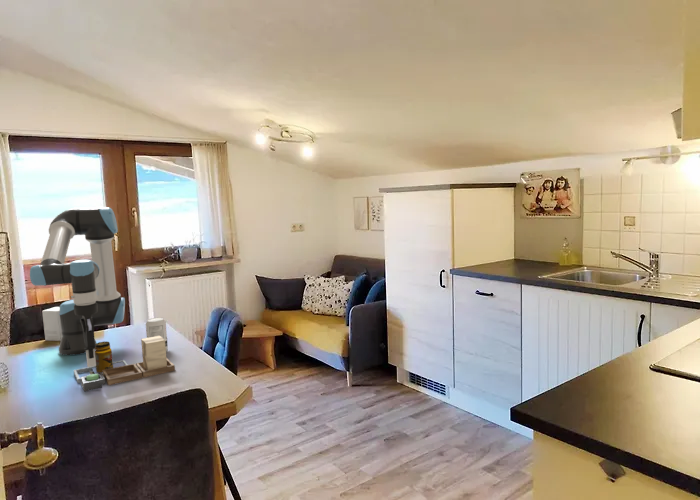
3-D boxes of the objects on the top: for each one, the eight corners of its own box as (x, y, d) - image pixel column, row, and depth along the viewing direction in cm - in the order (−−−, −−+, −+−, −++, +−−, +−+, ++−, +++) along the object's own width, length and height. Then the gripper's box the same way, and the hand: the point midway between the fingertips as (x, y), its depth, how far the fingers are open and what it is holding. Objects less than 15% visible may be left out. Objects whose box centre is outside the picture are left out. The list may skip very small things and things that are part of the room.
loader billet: (143, 368, 199) (141, 338, 198) (161, 364, 203) (159, 335, 202) (148, 374, 193) (146, 343, 191) (167, 370, 197) (165, 340, 195)
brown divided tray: (102, 378, 193) (101, 370, 193) (166, 364, 207) (166, 356, 206) (108, 388, 183) (107, 380, 182) (175, 373, 196) (175, 365, 196)
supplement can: (143, 355, 220) (141, 321, 218) (157, 349, 228) (155, 316, 226) (158, 356, 217) (155, 322, 215) (172, 350, 224) (169, 317, 223)
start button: (86, 380, 186) (85, 375, 186) (98, 378, 188) (97, 373, 188) (87, 384, 183) (87, 378, 183) (99, 381, 185) (99, 376, 185)
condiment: (115, 373, 199) (113, 343, 197) (91, 378, 194) (88, 347, 193) (112, 368, 205) (110, 339, 203) (89, 372, 200) (86, 343, 199)
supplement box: (74, 335, 254) (71, 306, 252) (60, 341, 245) (57, 311, 243) (59, 335, 256) (56, 306, 254) (44, 340, 247) (41, 310, 245)
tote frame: (73, 373, 199) (73, 370, 199) (124, 363, 210) (124, 359, 210) (78, 383, 189) (77, 379, 189) (131, 371, 199) (130, 368, 199)
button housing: (81, 384, 187) (80, 377, 187) (102, 380, 191) (101, 372, 191) (84, 391, 181) (83, 383, 180) (105, 386, 185) (105, 378, 184)
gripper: (71, 301, 185) (78, 363, 189) (76, 308, 175) (82, 373, 178) (94, 298, 190) (100, 358, 193) (99, 304, 179) (106, 368, 182)
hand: (91, 365), depth 185 cm, fingers closed
